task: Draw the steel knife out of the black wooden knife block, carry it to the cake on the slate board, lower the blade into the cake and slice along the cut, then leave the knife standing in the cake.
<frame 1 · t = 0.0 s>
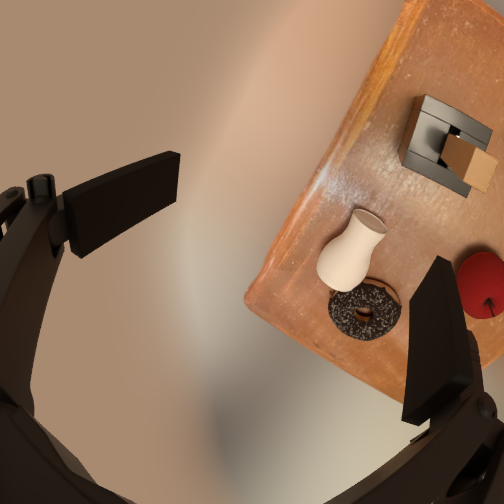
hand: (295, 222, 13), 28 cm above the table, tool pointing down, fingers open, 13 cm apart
donut: (365, 302, 46), on the table
knife: (436, 138, 29), point 1 cm above the table, touching knife block
knife block: (435, 137, 30), on the table
apple: (478, 269, 34), on the table
cream ceramic vase: (356, 238, 41), on the table
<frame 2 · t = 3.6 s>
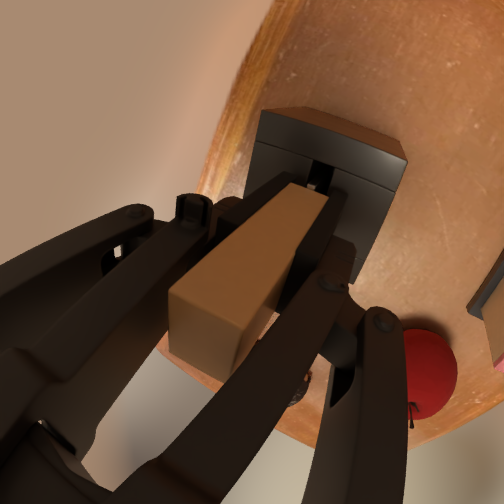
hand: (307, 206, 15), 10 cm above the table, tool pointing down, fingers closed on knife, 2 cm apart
knife: (336, 169, 22), point 1 cm above the table, touching gripper
knife block: (338, 167, 23), on the table
apple: (415, 344, 27), on the table
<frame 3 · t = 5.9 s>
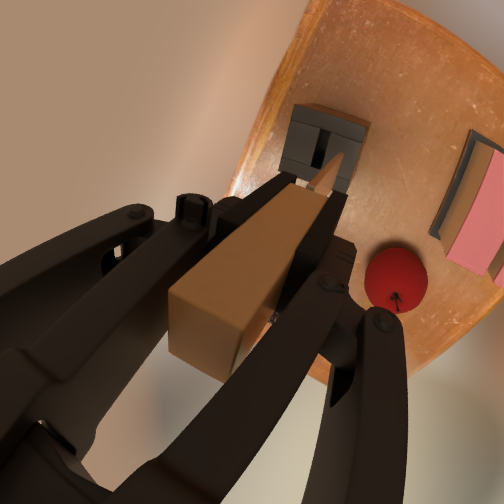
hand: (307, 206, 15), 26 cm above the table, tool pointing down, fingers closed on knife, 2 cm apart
knife: (336, 169, 22), point 17 cm above the table, touching gripper
cake: (494, 207, 30), on the table
knife block: (334, 139, 36), on the table
apple: (396, 264, 41), on the table
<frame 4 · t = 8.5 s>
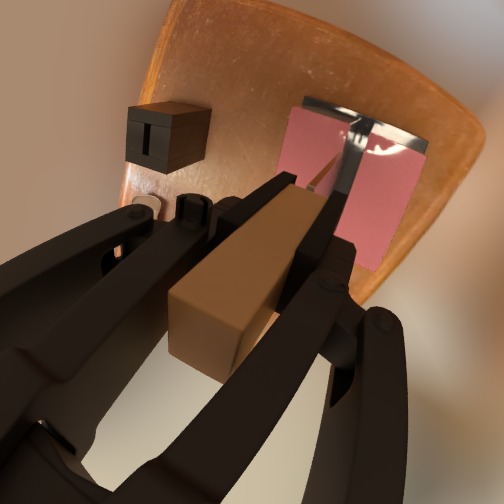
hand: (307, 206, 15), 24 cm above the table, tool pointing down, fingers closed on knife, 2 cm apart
knife: (336, 169, 22), point 15 cm above the table, touching gripper
cake: (349, 173, 35), on the table
knife block: (186, 129, 42), on the table
cream ceramic vase: (156, 217, 54), on the table
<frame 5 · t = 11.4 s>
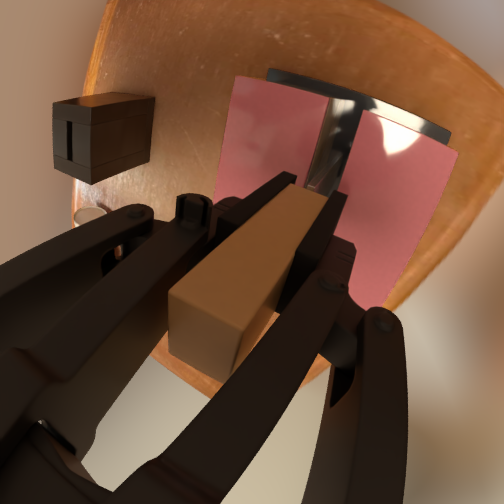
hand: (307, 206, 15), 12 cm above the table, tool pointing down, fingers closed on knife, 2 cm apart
knife: (336, 169, 22), point 3 cm above the table, touching gripper
cake: (335, 177, 25), on the table
knife block: (128, 125, 32), on the table
cream ceramic vase: (107, 231, 43), on the table
when the fingers open (10 cm above the table, at t = 13.5 s): knife stays where it is, resting on cake.
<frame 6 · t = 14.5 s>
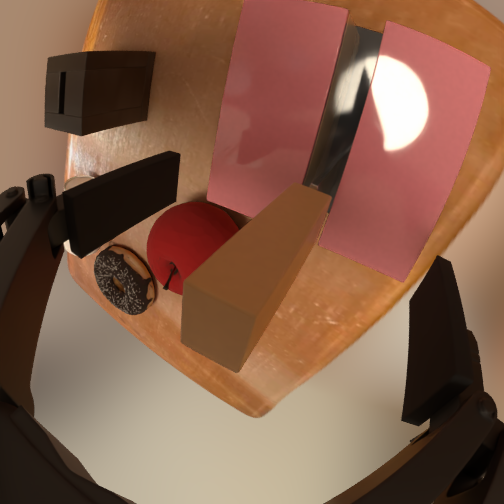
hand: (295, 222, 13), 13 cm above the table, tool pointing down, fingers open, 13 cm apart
donut: (130, 274, 43), on the table
knife: (337, 169, 22), point 1 cm above the table, touching cake
cake: (353, 122, 21), on the table
knife block: (126, 84, 28), on the table
apple: (217, 230, 32), on the table
cream ceramic vase: (100, 205, 39), on the table
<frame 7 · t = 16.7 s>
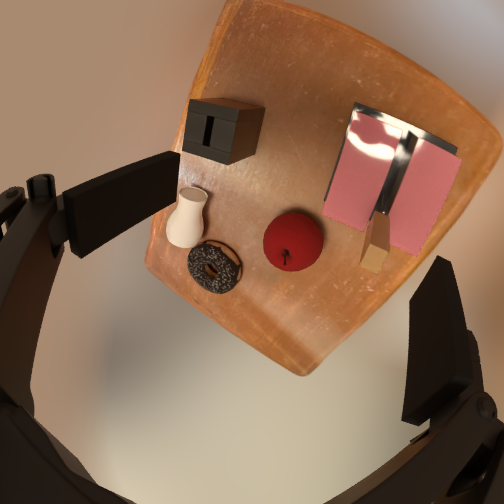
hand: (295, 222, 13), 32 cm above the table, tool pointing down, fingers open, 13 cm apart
donut: (217, 262, 61), on the table
knife: (380, 198, 40), point 1 cm above the table, touching cake
cake: (390, 172, 39), on the table
knife block: (238, 125, 45), on the table
apple: (301, 231, 50), on the table
cream ceramic vase: (199, 209, 57), on the table
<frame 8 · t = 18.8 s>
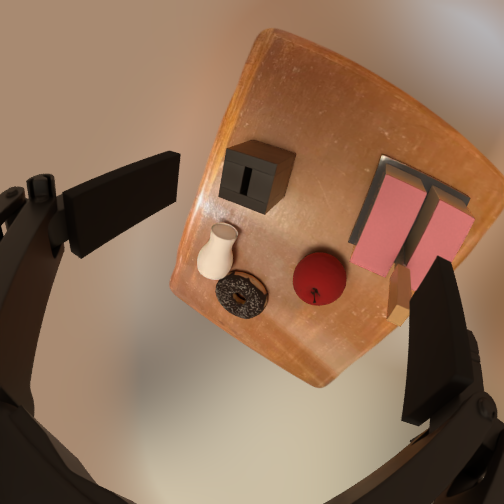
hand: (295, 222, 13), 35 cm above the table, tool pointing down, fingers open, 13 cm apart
donut: (244, 290, 65), on the table
knife: (399, 241, 44), point 1 cm above the table, touching cake
cake: (409, 218, 43), on the table
knife block: (268, 167, 49), on the table
apple: (325, 266, 54), on the table
cream ceramic vase: (227, 242, 61), on the table
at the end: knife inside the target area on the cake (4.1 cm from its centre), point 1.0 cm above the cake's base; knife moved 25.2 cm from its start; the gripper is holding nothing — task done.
